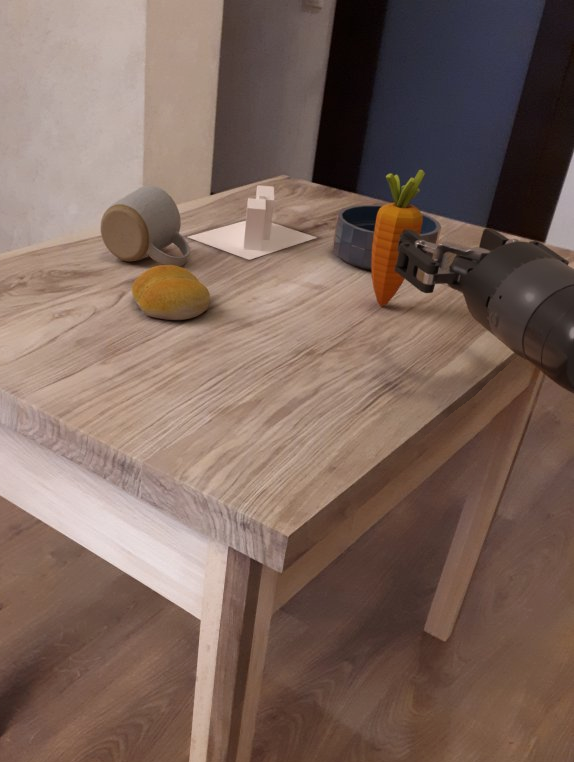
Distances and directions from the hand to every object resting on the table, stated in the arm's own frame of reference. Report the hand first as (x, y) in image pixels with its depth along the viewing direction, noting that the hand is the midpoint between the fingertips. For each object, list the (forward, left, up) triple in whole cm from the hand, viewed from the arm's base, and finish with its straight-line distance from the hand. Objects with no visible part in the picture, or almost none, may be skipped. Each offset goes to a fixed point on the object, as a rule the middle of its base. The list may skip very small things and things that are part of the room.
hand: (444, 239), depth 77 cm
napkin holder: (-2, -36, -11) cm, 37 cm away
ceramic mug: (+15, -34, -11) cm, 38 cm away
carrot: (-3, -10, -11) cm, 15 cm away
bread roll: (+20, -19, -11) cm, 30 cm away
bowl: (-14, -23, -11) cm, 29 cm away
